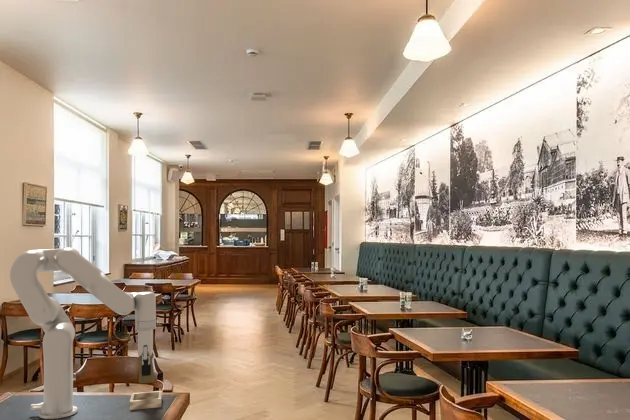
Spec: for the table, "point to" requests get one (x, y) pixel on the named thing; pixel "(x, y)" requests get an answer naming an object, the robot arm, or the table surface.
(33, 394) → the table surface
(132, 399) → the beige square frame
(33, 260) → the robot arm
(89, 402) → the table surface
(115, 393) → the table surface
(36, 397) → the table surface
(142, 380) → the cork
